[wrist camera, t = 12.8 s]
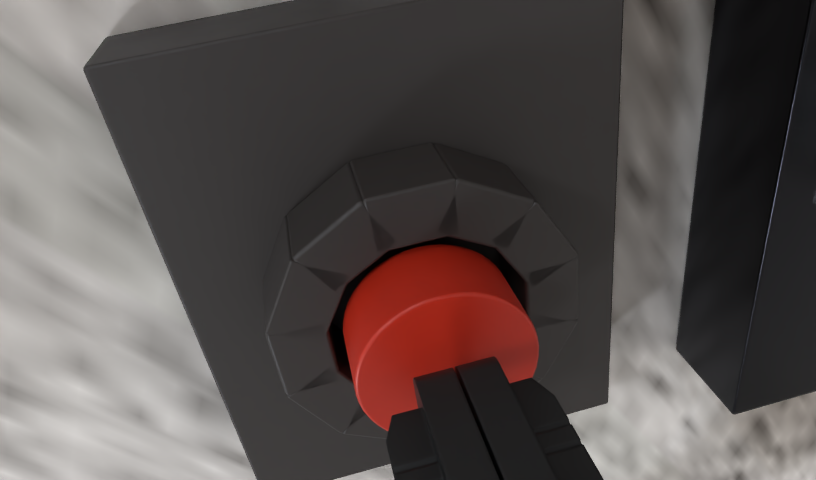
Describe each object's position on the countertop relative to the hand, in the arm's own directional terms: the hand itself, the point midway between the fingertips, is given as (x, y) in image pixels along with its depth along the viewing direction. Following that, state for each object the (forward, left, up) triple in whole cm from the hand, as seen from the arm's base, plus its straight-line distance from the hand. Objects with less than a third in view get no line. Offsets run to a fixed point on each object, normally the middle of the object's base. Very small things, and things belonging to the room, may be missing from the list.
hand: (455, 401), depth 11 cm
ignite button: (0, 0, -2) cm, 2 cm away
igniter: (0, 0, -6) cm, 6 cm away
